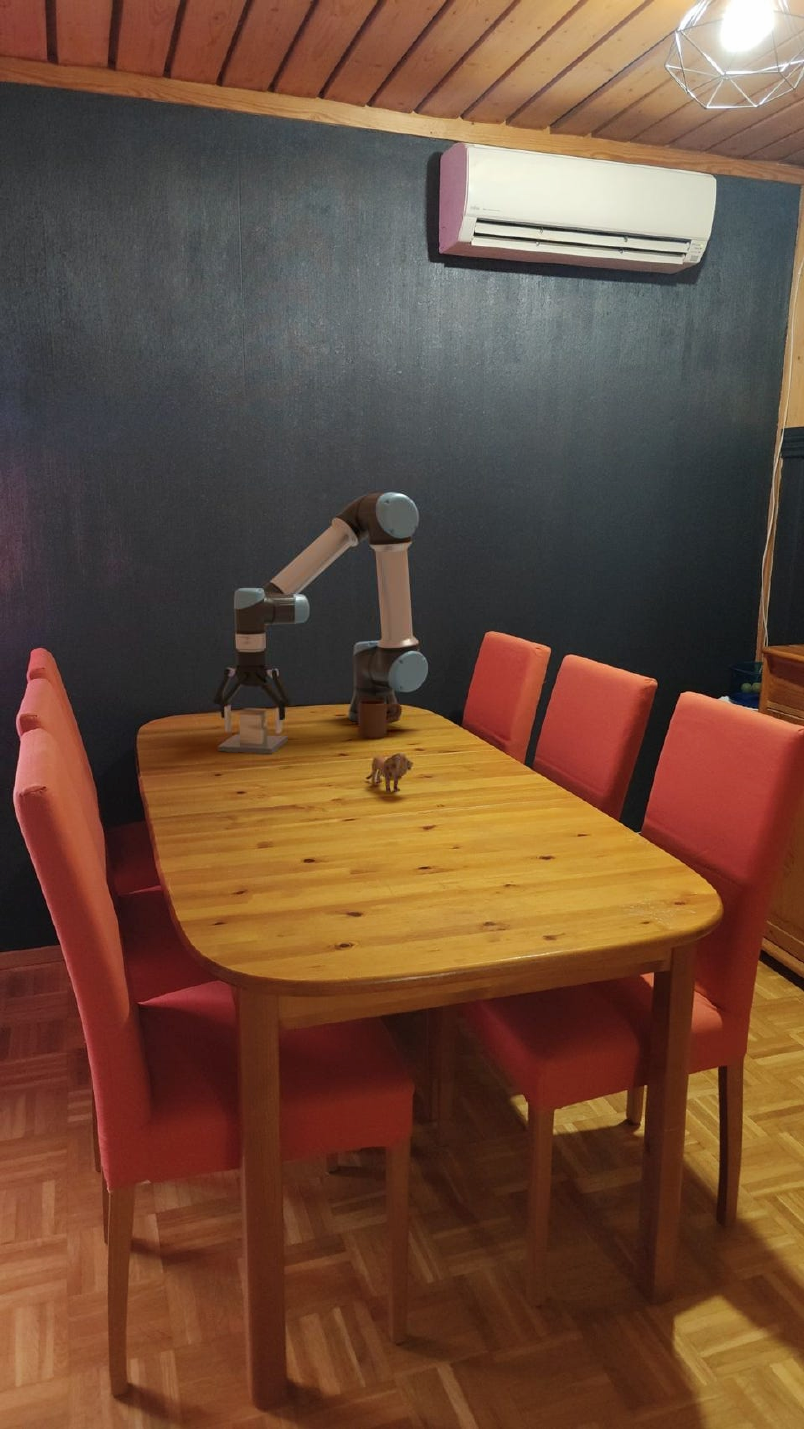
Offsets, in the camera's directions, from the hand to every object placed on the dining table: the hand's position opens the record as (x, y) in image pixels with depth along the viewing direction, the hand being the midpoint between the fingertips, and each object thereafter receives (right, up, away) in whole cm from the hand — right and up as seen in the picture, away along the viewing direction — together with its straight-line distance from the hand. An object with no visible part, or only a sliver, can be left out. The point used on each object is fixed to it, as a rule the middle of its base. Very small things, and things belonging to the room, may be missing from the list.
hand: (253, 731), depth 248 cm
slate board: (0, -4, +1) cm, 4 cm away
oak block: (0, -2, 0) cm, 3 cm away
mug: (+32, -2, +13) cm, 35 cm away
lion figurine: (+35, -12, -37) cm, 52 cm away
